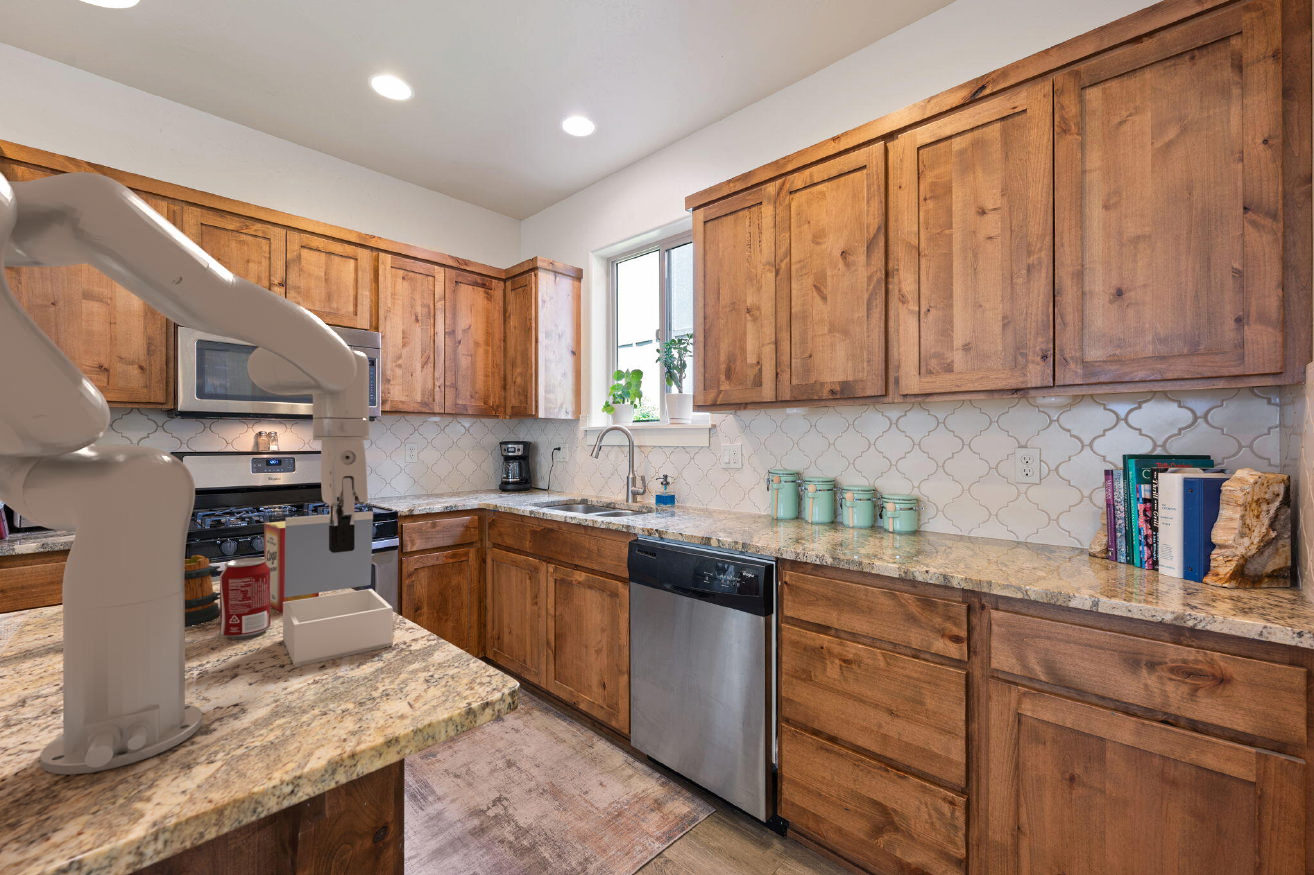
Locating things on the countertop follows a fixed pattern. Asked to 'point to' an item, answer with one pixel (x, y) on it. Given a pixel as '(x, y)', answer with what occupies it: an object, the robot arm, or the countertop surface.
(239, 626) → the soda can
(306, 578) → the lid
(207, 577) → the mug
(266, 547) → the baking soda box
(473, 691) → the countertop surface
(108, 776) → the countertop surface
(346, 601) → the white open box
